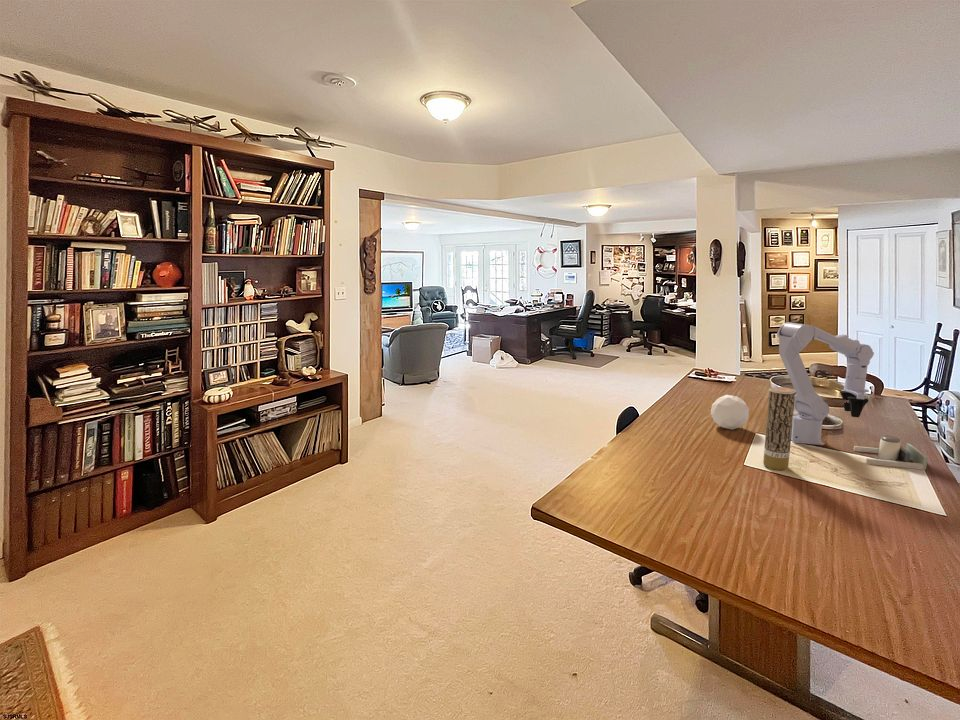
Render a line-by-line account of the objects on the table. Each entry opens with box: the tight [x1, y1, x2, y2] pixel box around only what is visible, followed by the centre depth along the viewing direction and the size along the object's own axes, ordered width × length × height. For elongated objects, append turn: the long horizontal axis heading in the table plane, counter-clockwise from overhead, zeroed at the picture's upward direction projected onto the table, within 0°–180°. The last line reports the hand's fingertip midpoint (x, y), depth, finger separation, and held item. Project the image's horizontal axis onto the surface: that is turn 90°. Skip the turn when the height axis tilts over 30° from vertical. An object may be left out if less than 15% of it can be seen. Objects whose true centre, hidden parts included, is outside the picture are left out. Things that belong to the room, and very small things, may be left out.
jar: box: [877, 435, 902, 461], centre depth 156 cm, size 5×5×7 cm
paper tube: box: [762, 386, 796, 471], centre depth 151 cm, size 7×7×25 cm
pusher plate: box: [898, 445, 910, 462], centre depth 155 cm, size 1×10×4 cm, turn 158°
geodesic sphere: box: [710, 393, 750, 431], centre depth 191 cm, size 14×14×14 cm
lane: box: [853, 443, 929, 470], centre depth 156 cm, size 15×13×4 cm
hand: (851, 413), depth 174 cm, fingers open, 7 cm apart
